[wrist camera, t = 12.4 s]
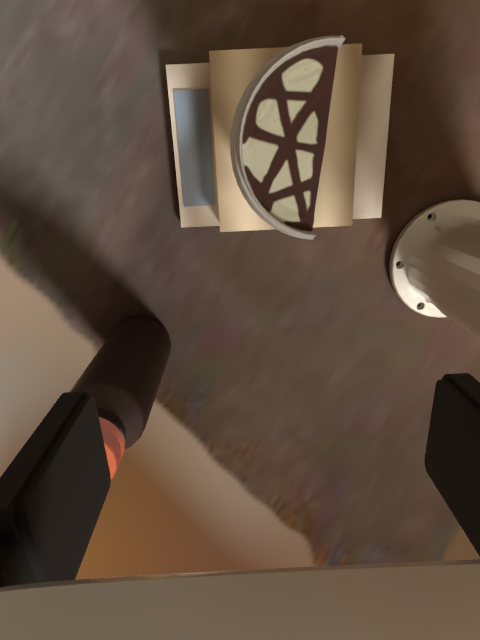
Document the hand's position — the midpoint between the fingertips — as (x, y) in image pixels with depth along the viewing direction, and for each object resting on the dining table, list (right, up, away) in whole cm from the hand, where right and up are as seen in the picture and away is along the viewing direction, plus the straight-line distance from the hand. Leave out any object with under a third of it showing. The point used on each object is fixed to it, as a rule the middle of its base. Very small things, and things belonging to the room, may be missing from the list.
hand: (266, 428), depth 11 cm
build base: (+3, +20, +28) cm, 34 cm away
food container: (+2, +18, +23) cm, 29 cm away
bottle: (-12, 0, +36) cm, 38 cm away
